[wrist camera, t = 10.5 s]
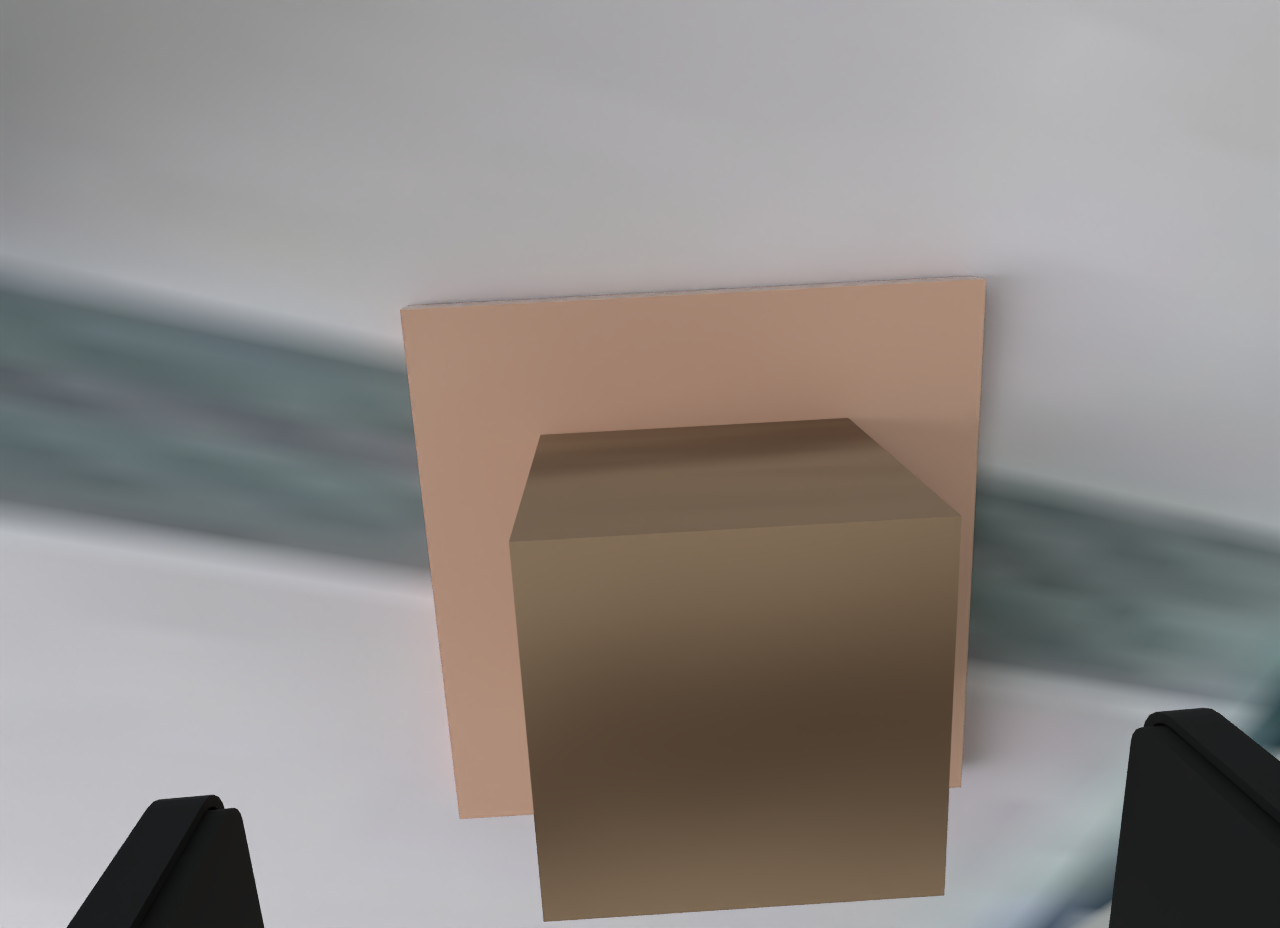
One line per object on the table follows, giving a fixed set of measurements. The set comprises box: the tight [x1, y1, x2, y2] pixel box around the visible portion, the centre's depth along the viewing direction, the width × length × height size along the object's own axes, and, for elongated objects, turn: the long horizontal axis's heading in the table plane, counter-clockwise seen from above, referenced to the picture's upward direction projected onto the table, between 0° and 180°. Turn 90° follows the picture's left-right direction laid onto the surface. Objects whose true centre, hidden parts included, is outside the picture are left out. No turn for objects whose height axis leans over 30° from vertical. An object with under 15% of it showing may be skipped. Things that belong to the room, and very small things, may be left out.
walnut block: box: [509, 418, 962, 922], centre depth 16 cm, size 6×6×6 cm
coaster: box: [400, 276, 986, 819], centre depth 19 cm, size 11×11×1 cm
